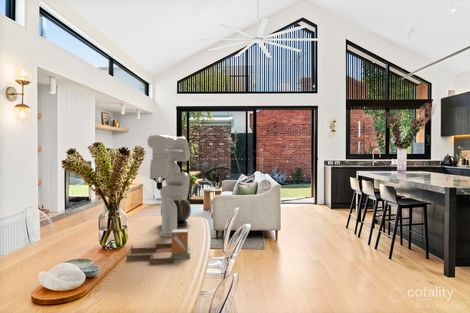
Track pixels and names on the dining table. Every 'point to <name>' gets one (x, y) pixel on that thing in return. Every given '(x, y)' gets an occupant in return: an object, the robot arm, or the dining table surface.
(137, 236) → the dining table surface
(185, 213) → the amphora vase
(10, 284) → the dining table surface
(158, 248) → the trap track
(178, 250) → the small box
